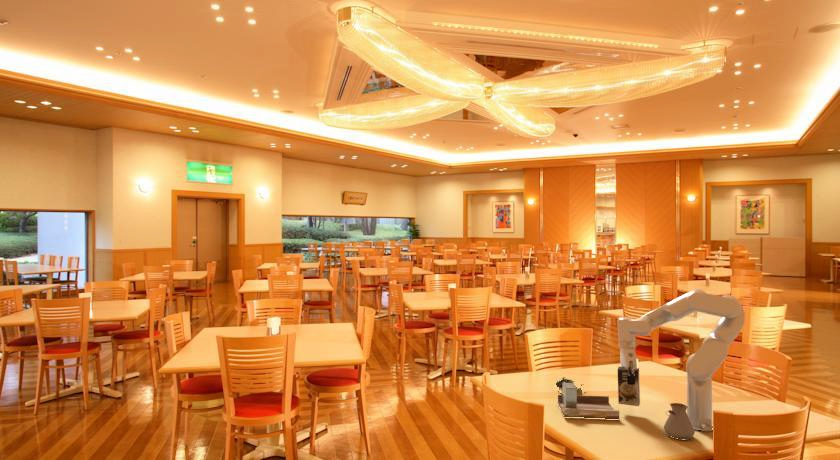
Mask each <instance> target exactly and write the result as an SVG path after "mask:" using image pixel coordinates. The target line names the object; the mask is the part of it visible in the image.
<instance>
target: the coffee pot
mask: <svg viewBox="0 0 840 460" xmlns="http://www.w3.org/2000/svg"><path fill="white" fill-rule="evenodd" d="M669 407H671V410H670V409H669V410H666V411H665V415H666V416H668V417H667V419H666V421H665V423H664V426H663V430H664V432H665V433H666V434H667V435H668V436H669V435H670V436H672V437H674V438H678V439H688V440H690V439H691V438H692V437H693V436H694V435H695V433H696V430H694V429H693V426H692V424H691V422H690V420H689V418H688V415H687V408H688V407H687V404H683V403H679V402H673V403H669ZM667 412H668V413H669V414H667ZM670 436H669V437H670ZM672 437H671V438H672ZM674 438H673V439H674ZM689 438H690V439H689ZM678 439H677V440H678Z"/></svg>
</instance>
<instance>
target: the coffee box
mask: <svg viewBox="0 0 840 460" xmlns="http://www.w3.org/2000/svg"><path fill="white" fill-rule="evenodd" d="M628 369H631V368H628ZM629 373H630V371H629ZM627 376H628V372H627V370H626V369H625V368H623V367H622V366H618V367H617V391H618V392H617V393H618V394H617V395H618V398H617V399H618V400H617V401H618V405H624V406H633V407H640V404H641V396H640V395H641V394H640V393H641V391H640V388H641V387H640V368H638V367H637V370H635V385H628V382H627Z"/></svg>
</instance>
